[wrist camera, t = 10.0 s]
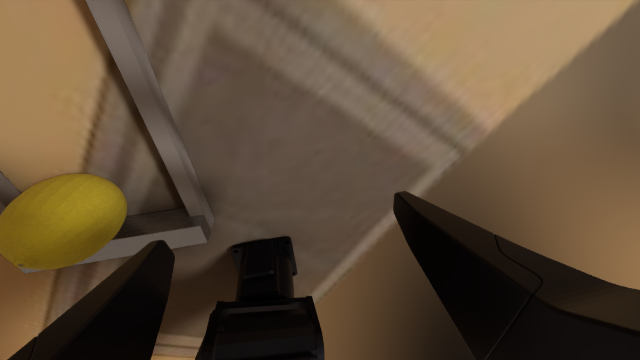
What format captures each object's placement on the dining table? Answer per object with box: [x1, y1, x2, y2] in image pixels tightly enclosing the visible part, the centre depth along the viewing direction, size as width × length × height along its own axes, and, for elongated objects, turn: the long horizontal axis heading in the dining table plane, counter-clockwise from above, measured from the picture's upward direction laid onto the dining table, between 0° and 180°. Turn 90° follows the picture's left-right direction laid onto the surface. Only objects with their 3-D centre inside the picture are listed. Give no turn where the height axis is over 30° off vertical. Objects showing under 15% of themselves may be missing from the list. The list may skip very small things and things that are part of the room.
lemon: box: [0, 173, 127, 270], centre depth 16 cm, size 6×6×8 cm
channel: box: [0, 0, 214, 273], centre depth 15 cm, size 23×14×3 cm, turn 3°
